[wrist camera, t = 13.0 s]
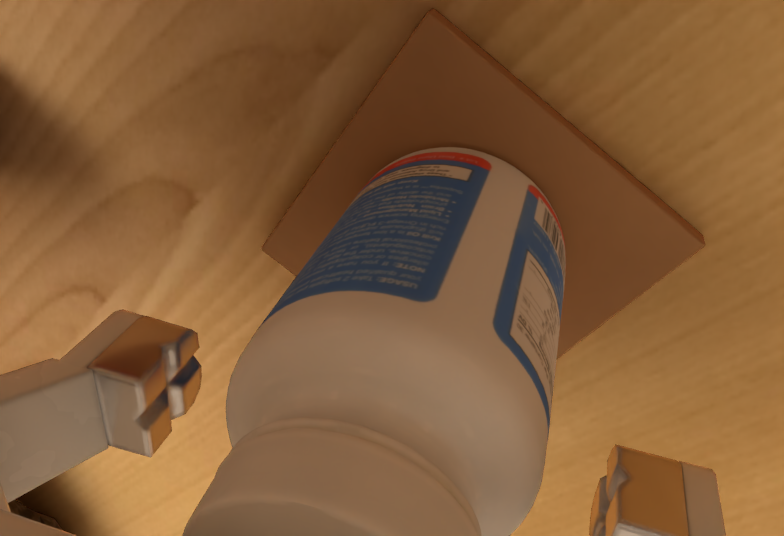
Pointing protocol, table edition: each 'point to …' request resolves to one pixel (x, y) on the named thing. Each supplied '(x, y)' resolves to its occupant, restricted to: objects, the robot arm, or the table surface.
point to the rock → (32, 514)
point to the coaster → (511, 144)
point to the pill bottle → (402, 365)
